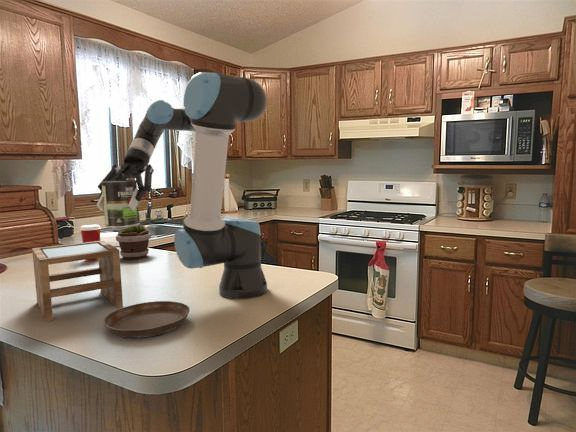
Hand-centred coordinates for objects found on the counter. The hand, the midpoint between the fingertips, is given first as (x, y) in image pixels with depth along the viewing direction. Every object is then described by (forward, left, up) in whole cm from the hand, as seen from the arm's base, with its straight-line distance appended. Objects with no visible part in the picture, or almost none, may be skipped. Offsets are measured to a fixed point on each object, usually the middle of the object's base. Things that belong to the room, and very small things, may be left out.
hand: (115, 208), depth 127 cm
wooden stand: (-1, +12, -27) cm, 30 cm away
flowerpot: (+54, -20, -28) cm, 64 cm away
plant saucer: (-30, +1, -28) cm, 41 cm away
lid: (-1, +12, -12) cm, 17 cm away
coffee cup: (+61, -4, -28) cm, 67 cm away
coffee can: (+2, -2, -6) cm, 7 cm away
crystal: (+87, -22, -28) cm, 94 cm away
